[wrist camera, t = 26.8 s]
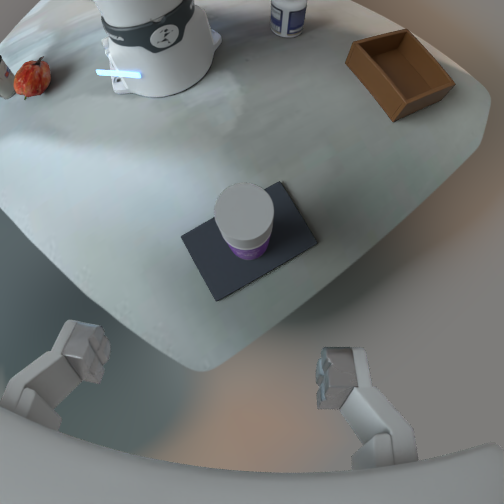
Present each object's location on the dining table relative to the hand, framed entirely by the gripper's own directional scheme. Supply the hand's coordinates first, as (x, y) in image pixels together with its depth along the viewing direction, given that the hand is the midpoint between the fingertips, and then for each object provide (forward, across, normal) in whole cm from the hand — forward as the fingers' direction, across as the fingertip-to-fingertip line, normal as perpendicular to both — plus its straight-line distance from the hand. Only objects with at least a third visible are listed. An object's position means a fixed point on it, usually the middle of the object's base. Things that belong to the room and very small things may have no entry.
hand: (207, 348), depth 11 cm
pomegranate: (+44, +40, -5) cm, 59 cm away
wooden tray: (+44, -22, -6) cm, 50 cm away
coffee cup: (+45, +50, -6) cm, 67 cm away
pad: (+25, 0, +14) cm, 29 cm away
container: (+25, 0, +14) cm, 28 cm away
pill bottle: (+51, -4, -12) cm, 52 cm away
